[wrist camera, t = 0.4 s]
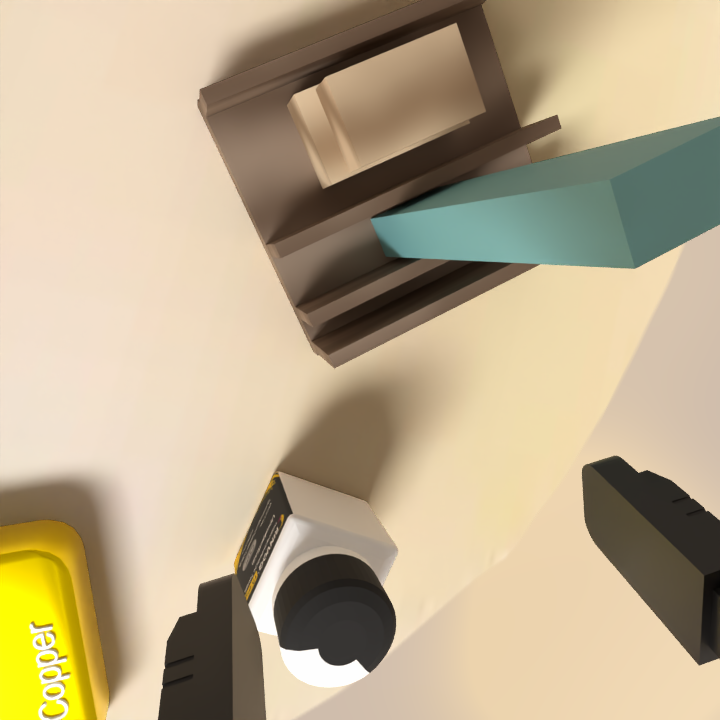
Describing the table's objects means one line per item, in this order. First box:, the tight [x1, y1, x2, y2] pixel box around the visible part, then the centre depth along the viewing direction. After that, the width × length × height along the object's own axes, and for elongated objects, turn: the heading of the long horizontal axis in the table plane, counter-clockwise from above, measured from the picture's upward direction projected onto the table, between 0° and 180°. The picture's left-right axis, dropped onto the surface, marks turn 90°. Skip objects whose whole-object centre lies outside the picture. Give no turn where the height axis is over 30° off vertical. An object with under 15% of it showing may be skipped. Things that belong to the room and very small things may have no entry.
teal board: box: [370, 117, 720, 269], centre depth 26 cm, size 2×5×22 cm, turn 114°
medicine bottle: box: [234, 471, 398, 687], centre depth 35 cm, size 7×7×12 cm
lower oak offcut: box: [287, 84, 470, 189], centre depth 34 cm, size 5×9×2 cm, turn 114°
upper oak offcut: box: [316, 23, 486, 172], centre depth 31 cm, size 5×8×2 cm, turn 114°
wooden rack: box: [198, 0, 561, 368], centre depth 34 cm, size 16×18×6 cm
